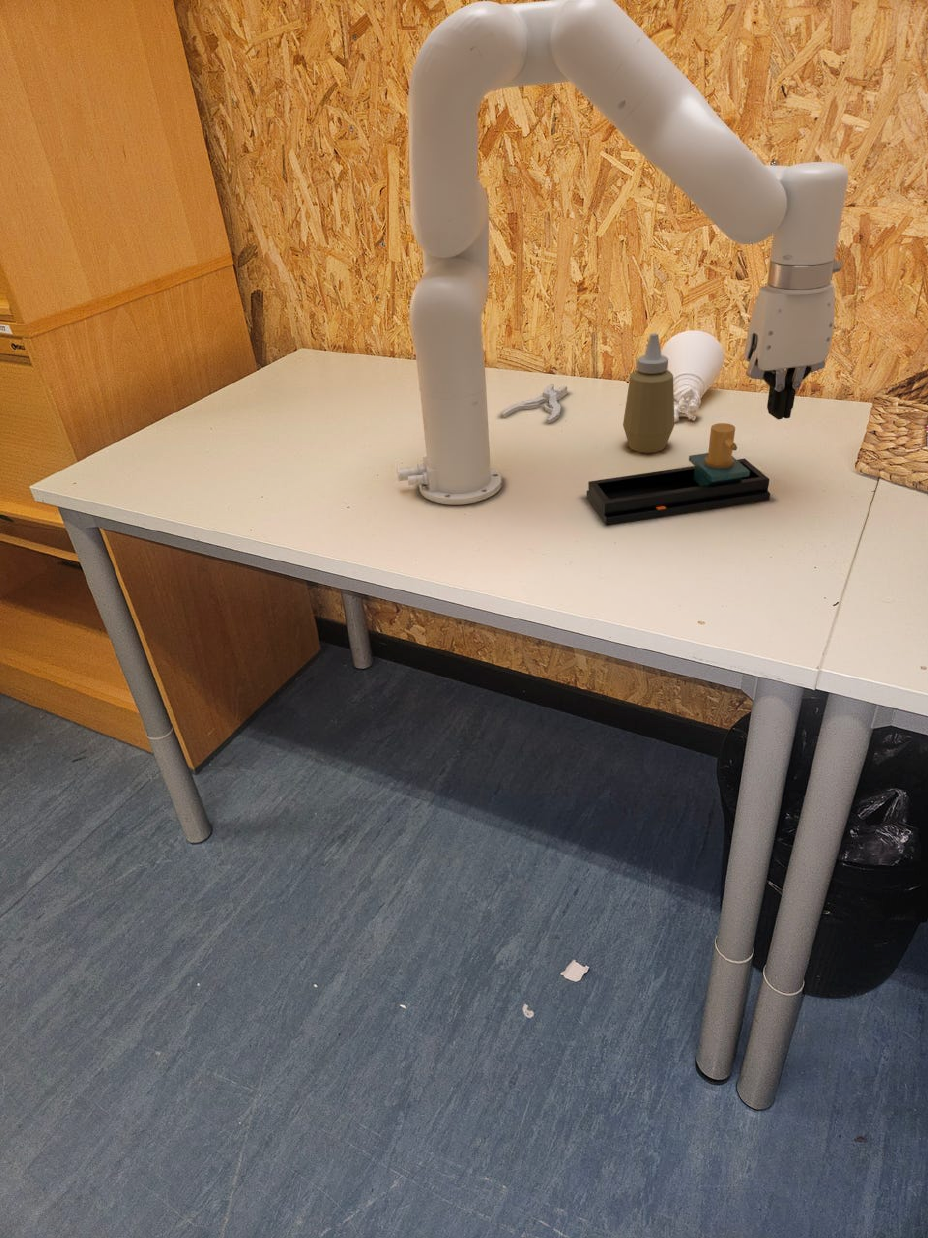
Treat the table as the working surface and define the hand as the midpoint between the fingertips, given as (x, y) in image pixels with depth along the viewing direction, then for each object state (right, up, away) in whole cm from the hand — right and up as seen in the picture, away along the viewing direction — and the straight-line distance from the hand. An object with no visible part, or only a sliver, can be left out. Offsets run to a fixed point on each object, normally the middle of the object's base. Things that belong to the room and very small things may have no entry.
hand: (778, 415), depth 113 cm
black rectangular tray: (-13, -11, +4) cm, 18 cm away
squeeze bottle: (-14, 0, +20) cm, 25 cm away
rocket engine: (-5, +10, +35) cm, 37 cm away
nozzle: (-7, -9, +4) cm, 12 cm away
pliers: (-29, +11, +39) cm, 50 cm away
